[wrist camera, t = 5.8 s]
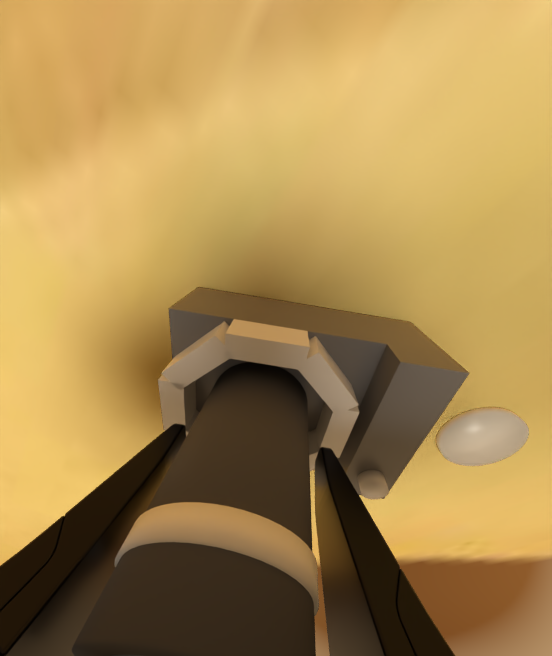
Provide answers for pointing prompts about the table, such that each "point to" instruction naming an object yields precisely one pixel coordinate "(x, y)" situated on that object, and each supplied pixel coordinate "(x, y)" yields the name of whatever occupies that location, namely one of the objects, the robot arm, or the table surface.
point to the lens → (221, 536)
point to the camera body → (318, 375)
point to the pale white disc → (482, 436)
